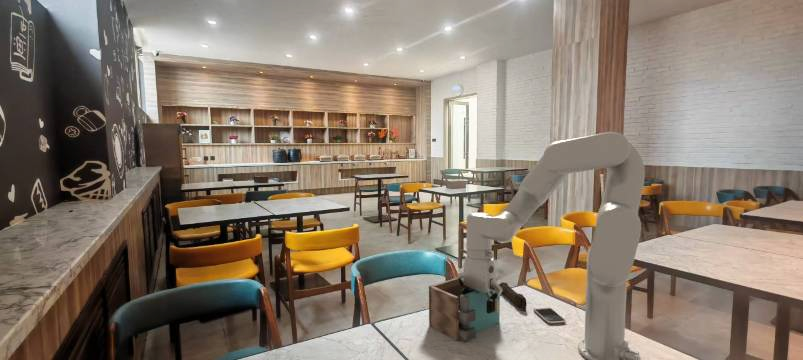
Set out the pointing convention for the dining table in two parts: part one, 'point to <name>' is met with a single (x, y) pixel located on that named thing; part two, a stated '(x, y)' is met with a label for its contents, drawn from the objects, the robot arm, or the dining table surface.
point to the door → (479, 310)
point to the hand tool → (514, 296)
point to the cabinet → (450, 311)
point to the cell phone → (549, 316)
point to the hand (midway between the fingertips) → (478, 307)
